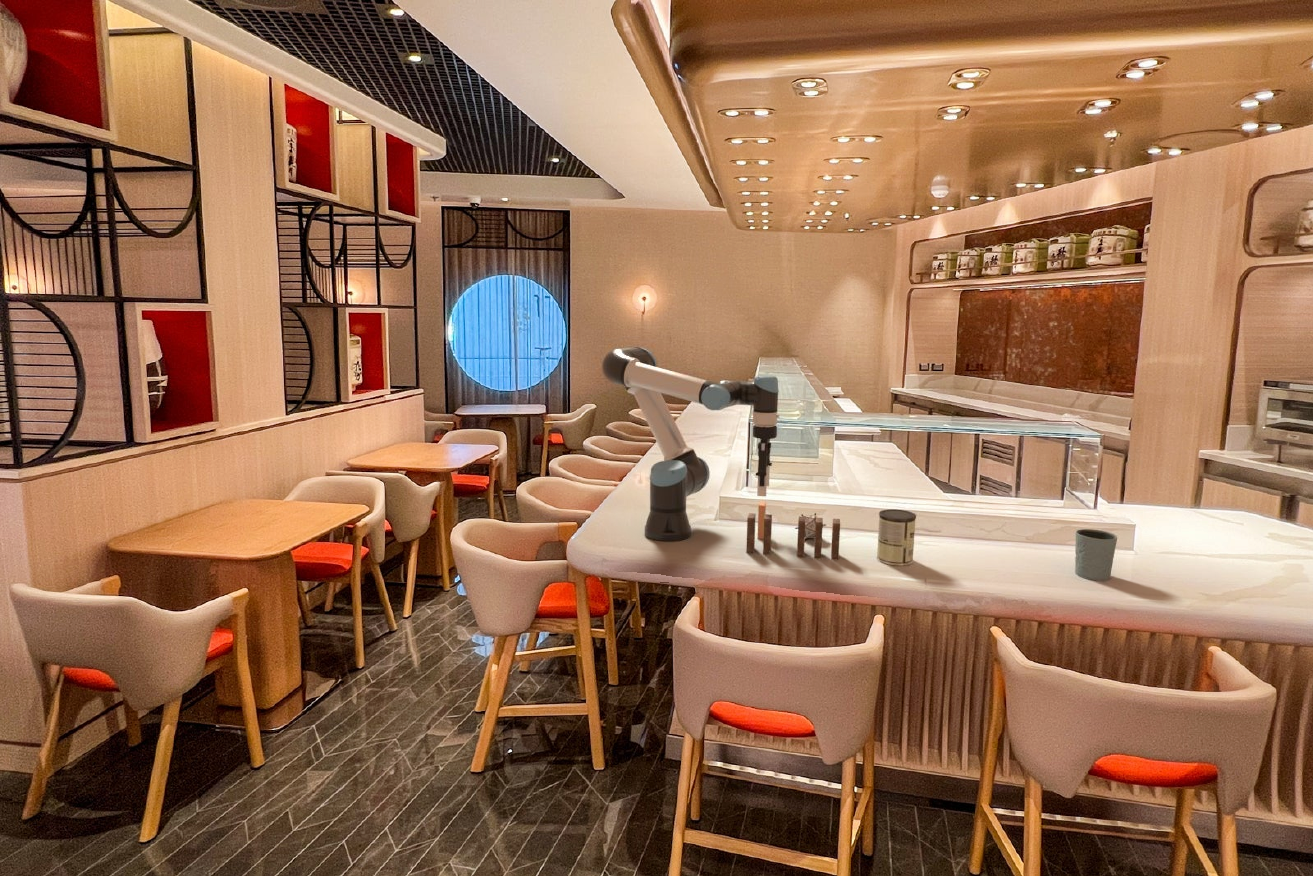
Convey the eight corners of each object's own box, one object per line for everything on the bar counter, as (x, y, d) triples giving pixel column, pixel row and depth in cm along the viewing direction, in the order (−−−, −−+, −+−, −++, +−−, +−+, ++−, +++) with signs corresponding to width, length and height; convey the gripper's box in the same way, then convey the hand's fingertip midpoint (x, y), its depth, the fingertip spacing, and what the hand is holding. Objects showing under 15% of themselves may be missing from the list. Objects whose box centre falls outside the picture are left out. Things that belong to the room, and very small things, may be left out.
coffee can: (877, 552, 230) (880, 507, 228) (913, 556, 227) (916, 511, 224) (875, 563, 221) (878, 516, 218) (912, 567, 217) (916, 520, 215)
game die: (814, 551, 243) (825, 532, 236) (789, 540, 244) (800, 521, 237) (820, 531, 249) (831, 512, 242) (796, 521, 250) (806, 502, 243)
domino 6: (831, 559, 224) (833, 523, 222) (831, 553, 229) (832, 518, 227) (838, 559, 224) (840, 523, 222) (837, 554, 228) (839, 519, 227)
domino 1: (746, 552, 229) (747, 517, 227) (747, 547, 234) (748, 513, 232) (753, 553, 229) (754, 518, 227) (754, 548, 234) (755, 513, 232)
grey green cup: (1095, 583, 206) (1100, 541, 204) (1062, 571, 215) (1067, 530, 213) (1121, 578, 210) (1126, 536, 208) (1087, 567, 219) (1092, 526, 217)
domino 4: (796, 556, 226) (798, 520, 224) (797, 551, 231) (798, 516, 229) (803, 557, 226) (805, 521, 224) (804, 551, 230) (805, 516, 229)
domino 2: (757, 538, 243) (758, 505, 241) (758, 534, 248) (759, 501, 246) (763, 539, 243) (764, 505, 241) (764, 534, 247) (766, 501, 246)
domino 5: (814, 558, 225) (815, 522, 223) (814, 552, 230) (815, 517, 228) (820, 558, 225) (822, 522, 223) (820, 553, 229) (822, 517, 228)
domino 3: (763, 554, 228) (764, 518, 226) (764, 549, 233) (765, 514, 231) (769, 554, 228) (770, 519, 226) (770, 549, 233) (772, 514, 231)
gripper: (774, 431, 226) (772, 501, 230) (779, 419, 250) (777, 482, 254) (749, 430, 228) (747, 499, 231) (756, 418, 252) (754, 481, 255)
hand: (763, 491), depth 242 cm, fingers open, 13 cm apart
